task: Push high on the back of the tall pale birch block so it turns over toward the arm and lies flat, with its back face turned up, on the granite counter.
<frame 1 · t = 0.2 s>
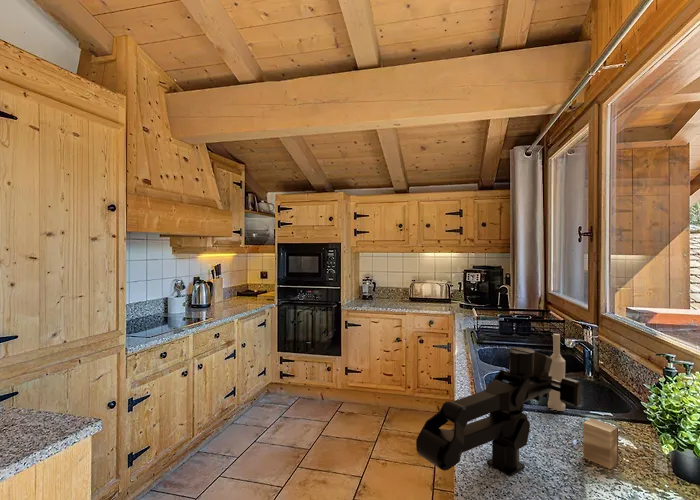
hand: (558, 377, 105), 17 cm above the worktop, tool horizontal, fingers open, 9 cm apart
birch block: (600, 460, 93), on the worktop
bottle: (556, 409, 124), on the worktop
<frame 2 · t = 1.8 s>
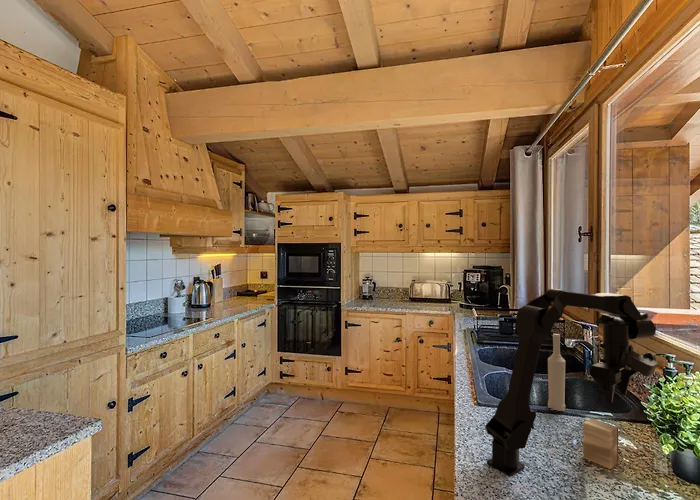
hand: (616, 398, 99), 13 cm above the worktop, tool pointing down, fingers open, 8 cm apart
nothing on the worktop moved.
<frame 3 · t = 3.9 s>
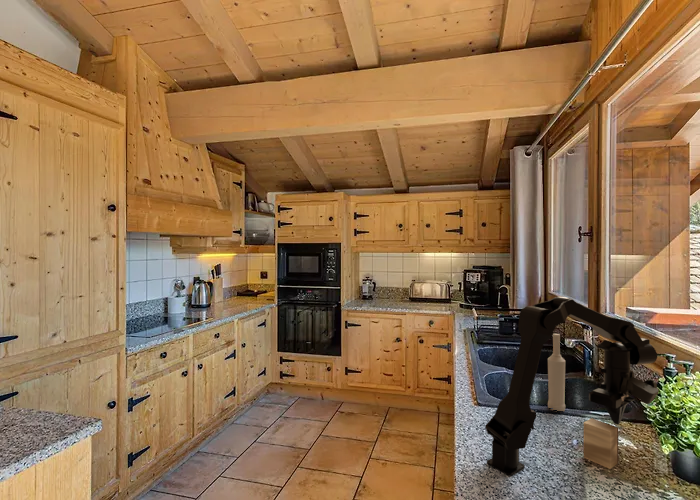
hand: (616, 423, 99), 7 cm above the worktop, tool pointing down, fingers closed
nothing on the worktop moved.
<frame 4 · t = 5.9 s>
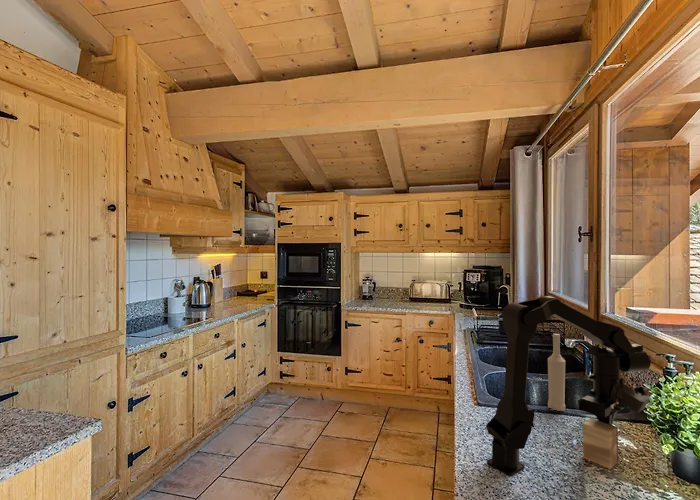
hand: (606, 432, 96), 6 cm above the worktop, tool pointing down, fingers closed
birch block: (600, 460, 93), on the worktop, touching gripper
everything else where it was.
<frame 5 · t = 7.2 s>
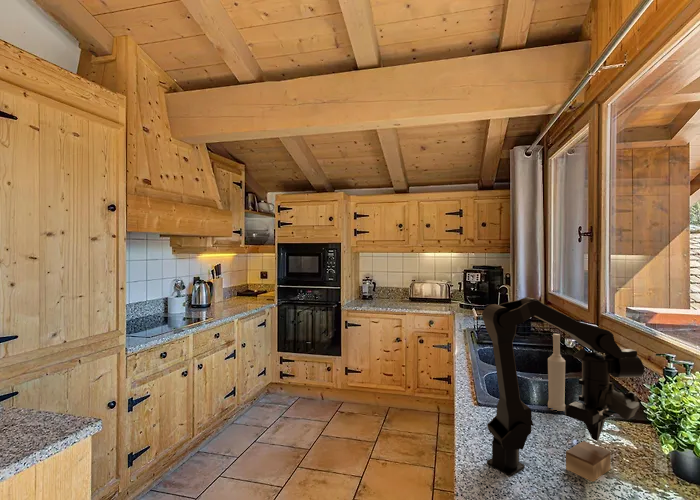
hand: (595, 439, 92), 6 cm above the worktop, tool pointing down, fingers closed
birch block: (596, 456, 92), point 2 cm above the worktop, tilted 90°
everything else where it was.
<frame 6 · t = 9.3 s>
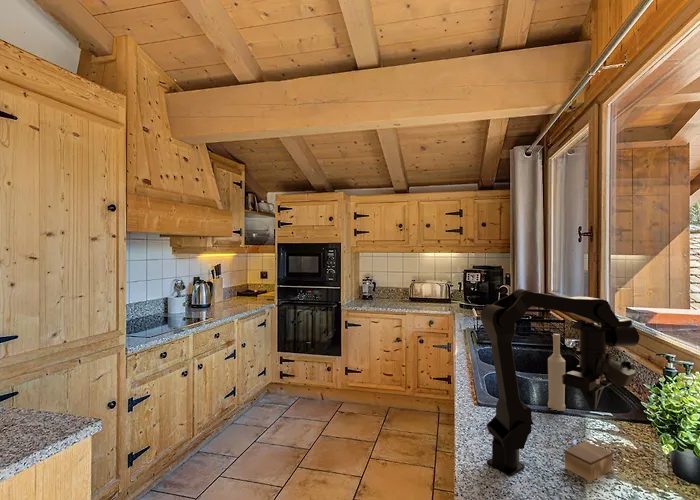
hand: (593, 408, 93), 13 cm above the worktop, tool pointing down, fingers closed
nothing on the worktop moved.
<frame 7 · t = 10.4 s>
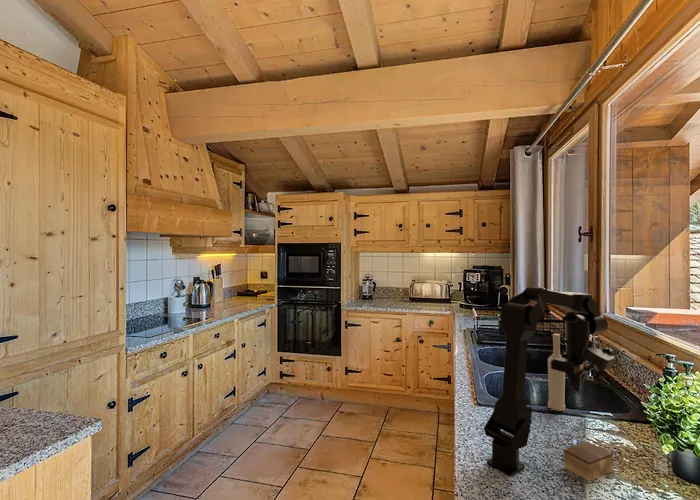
hand: (577, 391, 105), 13 cm above the worktop, tool pointing down, fingers closed
nothing on the worktop moved.
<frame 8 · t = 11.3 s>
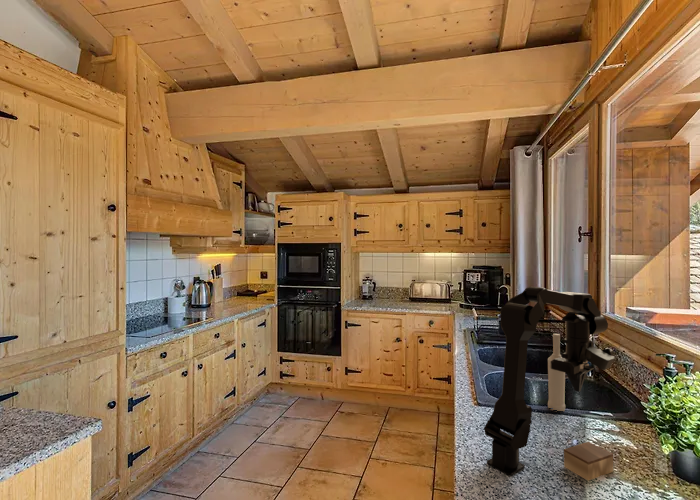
hand: (577, 391, 105), 13 cm above the worktop, tool pointing down, fingers closed
nothing on the worktop moved.
at the end: birch block tilted 90°; birch block inside the target area (1.7 cm from its centre), point 1.7 cm above the worktop; birch block touching worktop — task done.
